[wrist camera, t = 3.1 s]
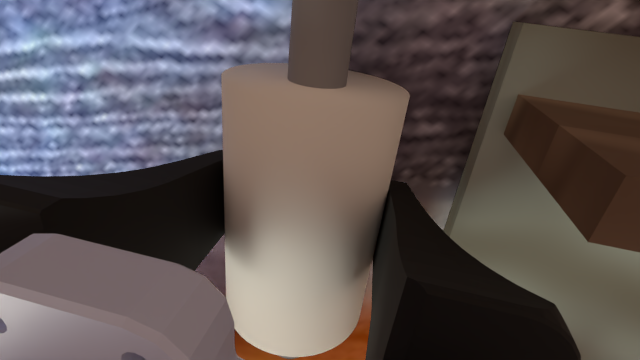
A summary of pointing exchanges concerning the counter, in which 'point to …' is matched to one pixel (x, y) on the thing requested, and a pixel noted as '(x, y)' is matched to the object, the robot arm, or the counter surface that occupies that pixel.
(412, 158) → the counter surface
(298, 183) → the paper roll
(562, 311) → the roll holder
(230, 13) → the counter surface
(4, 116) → the counter surface
